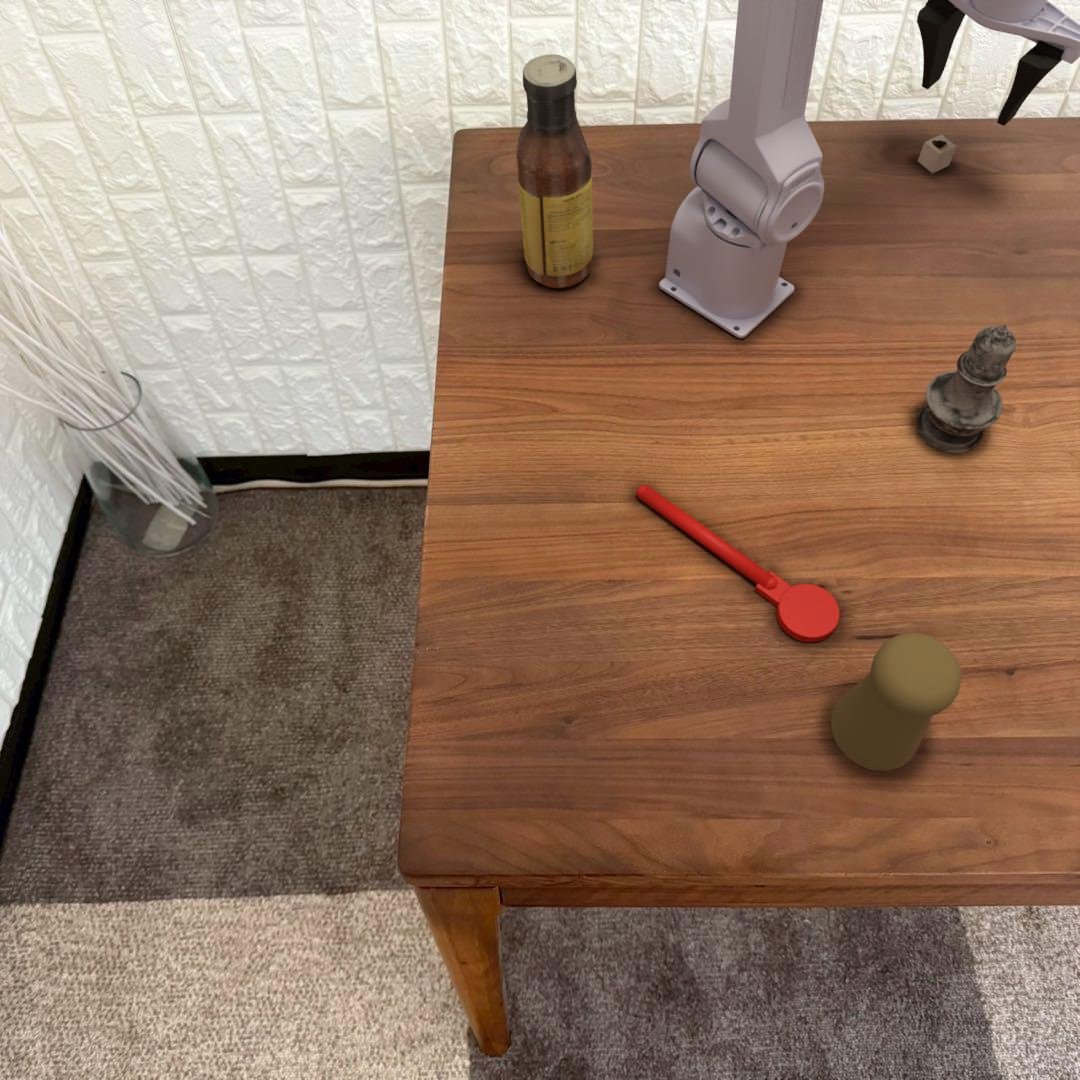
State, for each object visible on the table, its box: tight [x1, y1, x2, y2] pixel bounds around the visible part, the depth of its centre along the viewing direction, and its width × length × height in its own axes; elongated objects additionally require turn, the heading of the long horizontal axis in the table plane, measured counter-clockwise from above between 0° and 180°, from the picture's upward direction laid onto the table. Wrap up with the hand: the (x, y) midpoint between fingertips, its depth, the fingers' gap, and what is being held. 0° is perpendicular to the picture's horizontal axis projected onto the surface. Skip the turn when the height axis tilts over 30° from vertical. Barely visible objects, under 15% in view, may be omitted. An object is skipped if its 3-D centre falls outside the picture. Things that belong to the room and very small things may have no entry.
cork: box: [830, 632, 963, 772], centre depth 65 cm, size 6×6×11 cm
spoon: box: [636, 484, 840, 643], centre depth 76 cm, size 18×4×1 cm, turn 47°
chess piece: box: [915, 324, 1017, 454], centre depth 78 cm, size 6×6×12 cm
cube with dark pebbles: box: [917, 134, 957, 174], centre depth 98 cm, size 2×2×2 cm
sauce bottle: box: [515, 53, 594, 289], centre depth 84 cm, size 6×6×20 cm
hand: (967, 100), depth 91 cm, fingers open, 7 cm apart
